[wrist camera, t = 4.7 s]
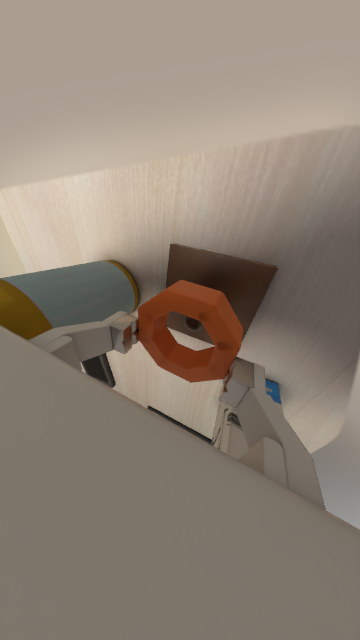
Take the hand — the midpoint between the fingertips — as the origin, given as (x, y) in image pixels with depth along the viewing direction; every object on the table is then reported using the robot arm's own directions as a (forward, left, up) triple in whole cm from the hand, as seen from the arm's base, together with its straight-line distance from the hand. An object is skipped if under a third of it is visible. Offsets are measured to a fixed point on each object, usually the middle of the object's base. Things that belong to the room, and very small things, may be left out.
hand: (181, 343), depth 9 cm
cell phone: (+19, +19, -8) cm, 28 cm away
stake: (0, 0, -8) cm, 8 cm away
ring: (0, 0, -1) cm, 1 cm away
